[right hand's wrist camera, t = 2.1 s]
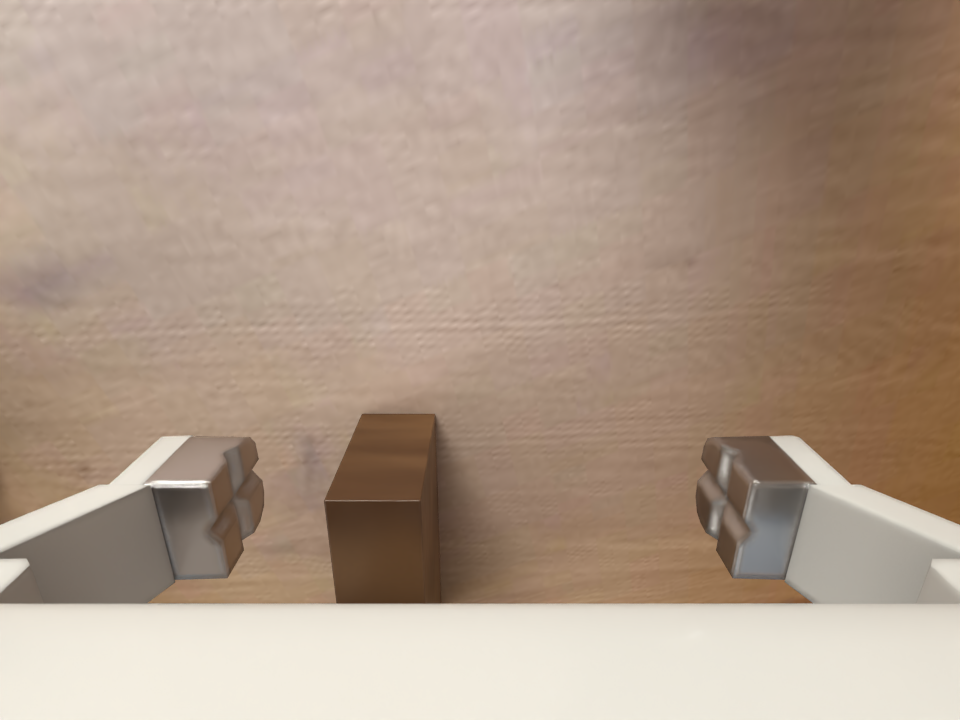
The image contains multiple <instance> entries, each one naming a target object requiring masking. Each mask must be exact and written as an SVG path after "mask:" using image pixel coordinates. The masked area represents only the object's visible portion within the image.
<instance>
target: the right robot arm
mask: <svg viewBox="0 0 960 720" xmlns="http://www.w3.org/2000/svg"><path fill="white" fill-rule="evenodd" d="M258 459H259V458H258V454H257V449H256V444H255V442H254V441H253V440H252V439H251V438H250V437H217V436H195V437H194V436H166V437H161V438H160V439H158V440H157V441H156V442H155V443H154V444H153V445H152V446H151V447H150V448H149V449H147V450H146V451H145V452H144V453H143V454H142V455H141V456H140V457H139V458H138V459H136V460H135V461H134V462H133V463H132V464H131V465H130V466H129V467H128V468H127V469H125V470H124V471H123V472H122V473H121V474H120V475H119V476H118V477H117V478H115V479H114V480H113V481H112V482H111V483H110V484H109V485H97V486H95V487H92V488H90V489H88V490H85V491H83V492H80V493H78V494H75V495H73V496H70V497H68V498H65V499H63V500H60V501H58V502H55V503H53V504H51V505H48V506H46V507H43V508H41V509H38V510H36V511H33V512H31V513H28V514H26V515H23V516H21V517H18V518H16V519H13V520H11V521H9V522H6V523H4V524H1V525H0V720H960V525H959V524H956V523H954V522H951V521H949V520H946V519H944V518H941V517H939V516H936V515H934V514H932V513H929V512H927V511H924V510H922V509H919V508H917V507H914V506H912V505H909V504H907V503H904V502H902V501H900V500H897V499H895V498H892V497H890V496H887V495H885V494H882V493H880V492H877V491H875V490H872V489H870V488H868V487H865V486H863V485H851V484H850V483H849V482H848V481H847V480H846V479H845V478H843V477H842V476H841V475H840V474H839V473H838V472H837V471H836V470H835V469H834V468H832V467H831V466H830V465H829V464H828V463H827V462H826V461H825V460H824V459H823V458H822V457H820V456H819V455H818V454H817V453H816V452H815V451H814V450H813V449H812V448H811V447H809V446H808V445H807V444H806V443H805V442H804V441H803V440H802V439H801V438H799V437H796V436H792V435H789V436H750V437H714V438H708V439H707V441H706V443H705V445H704V448H703V453H702V458H701V459H702V461H703V462H704V464H705V466H706V467H707V469H708V470H707V471H706V473H705V474H704V475H703V476H702V477H701V478H700V479H699V480H698V482H697V490H696V506H697V513H698V516H699V520H700V523H701V525H702V526H703V528H704V530H705V532H706V533H707V534H709V535H711V536H712V537H714V538H715V539H717V540H718V543H717V548H716V551H717V552H718V554H719V556H720V558H721V559H722V561H723V563H724V564H725V566H726V568H727V569H728V571H729V573H730V574H731V576H732V578H743V579H780V580H785V582H786V583H787V584H788V585H790V586H791V587H792V588H794V589H795V590H796V591H798V592H799V593H800V594H802V595H803V596H804V597H806V598H807V599H808V600H810V601H811V602H812V603H814V604H147V603H148V602H149V601H151V600H152V599H153V598H155V597H156V596H157V595H159V594H160V593H161V592H163V591H164V590H165V589H167V588H168V587H169V586H171V585H172V584H173V583H175V580H180V579H216V578H228V576H229V575H230V573H231V571H232V569H233V568H234V566H235V564H236V563H237V561H238V559H239V558H240V556H241V554H242V552H243V551H244V548H243V543H242V540H243V539H245V538H246V537H248V536H249V535H251V534H253V533H254V532H255V530H256V528H257V526H258V524H259V523H260V520H261V516H262V512H263V508H264V489H263V482H262V480H261V479H260V478H259V477H258V476H257V475H256V474H255V473H254V471H253V470H252V469H253V467H254V466H255V464H256V462H257V461H258Z"/></svg>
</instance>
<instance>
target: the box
mask: <svg viewBox="0 0 960 720" xmlns="http://www.w3.org/2000/svg"><path fill="white" fill-rule="evenodd" d="M324 504H325V512H326V520H327V529H328V537H329V545H330V553H331V562H332V570H333V578H334V586H335V595H336V603H337V604H441V582H440V550H439V519H438V487H437V456H436V424H435V414H362V415H361V418H360V420H359V422H358V425H357V427H356V429H355V431H354V434H353V436H352V438H351V441H350V443H349V445H348V448H347V450H346V452H345V454H344V457H343V459H342V461H341V464H340V466H339V468H338V470H337V473H336V475H335V477H334V480H333V482H332V484H331V486H330V489H329V491H328V493H327V496H326V498H325V500H324Z"/></svg>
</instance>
